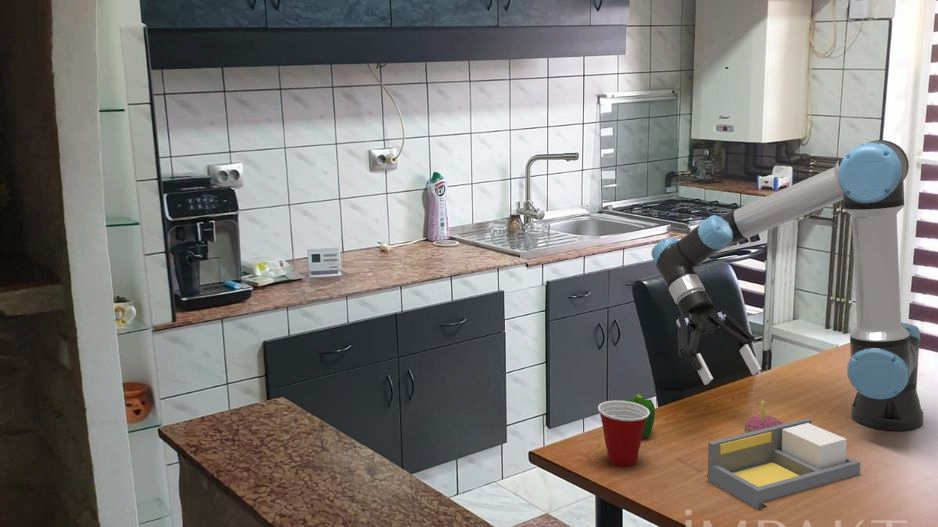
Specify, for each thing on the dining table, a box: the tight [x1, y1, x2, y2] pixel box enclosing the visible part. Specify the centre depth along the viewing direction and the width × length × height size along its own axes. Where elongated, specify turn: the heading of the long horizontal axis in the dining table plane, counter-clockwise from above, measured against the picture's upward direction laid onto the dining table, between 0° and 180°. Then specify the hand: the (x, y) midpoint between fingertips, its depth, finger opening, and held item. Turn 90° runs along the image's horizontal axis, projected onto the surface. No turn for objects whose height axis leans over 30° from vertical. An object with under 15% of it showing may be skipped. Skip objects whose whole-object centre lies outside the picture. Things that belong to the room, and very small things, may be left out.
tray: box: [707, 417, 861, 510], centre depth 175 cm, size 26×14×8 cm, turn 115°
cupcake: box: [743, 398, 783, 433], centre depth 191 cm, size 9×8×12 cm
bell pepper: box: [620, 394, 656, 439], centre depth 201 cm, size 8×8×10 cm
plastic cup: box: [597, 400, 650, 468], centre depth 187 cm, size 11×11×12 cm
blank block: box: [782, 423, 848, 470], centre depth 178 cm, size 7×10×7 cm
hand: (733, 377), depth 198 cm, fingers open, 13 cm apart
